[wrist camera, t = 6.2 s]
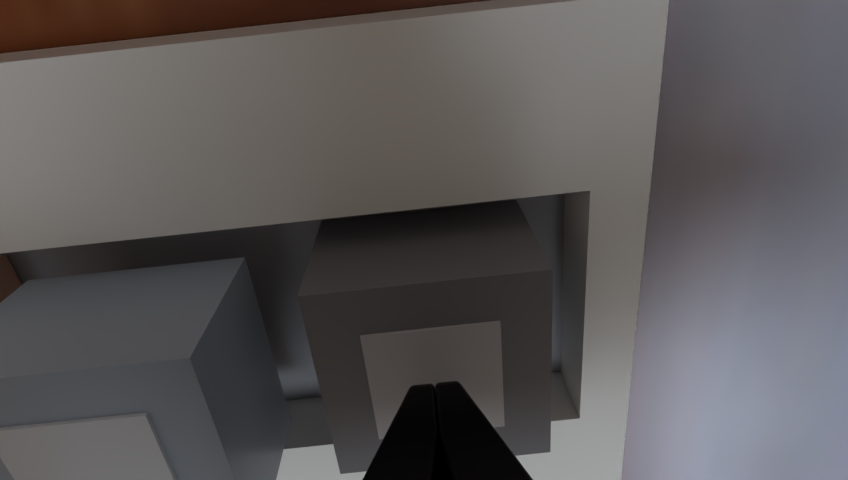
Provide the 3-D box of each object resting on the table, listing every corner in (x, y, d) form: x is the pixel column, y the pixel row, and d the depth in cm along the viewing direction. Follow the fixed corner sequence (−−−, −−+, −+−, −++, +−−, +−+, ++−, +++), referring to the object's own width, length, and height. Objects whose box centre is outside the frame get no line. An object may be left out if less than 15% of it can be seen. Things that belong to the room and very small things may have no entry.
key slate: (244, 256, 10) (187, 361, 7) (291, 418, 12) (258, 550, 9) (27, 280, 10) (-110, 392, 7) (107, 438, 12) (21, 574, 9)
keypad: (610, -13, 10) (669, -10, 8) (586, 428, 16) (618, 506, 14) (-629, 121, 11) (-918, 162, 8) (-238, 514, 16) (-347, 606, 14)
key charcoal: (516, 200, 11) (554, 271, 9) (519, 355, 13) (551, 455, 10) (321, 220, 11) (297, 299, 9) (352, 373, 13) (340, 476, 10)
